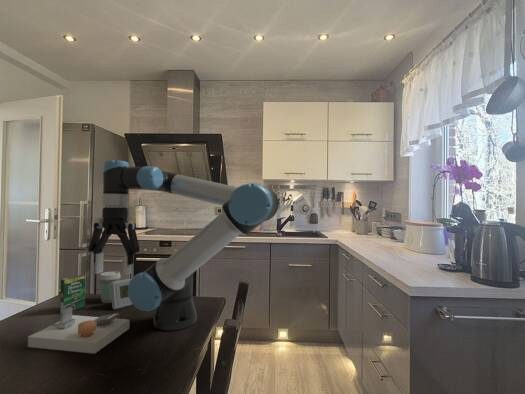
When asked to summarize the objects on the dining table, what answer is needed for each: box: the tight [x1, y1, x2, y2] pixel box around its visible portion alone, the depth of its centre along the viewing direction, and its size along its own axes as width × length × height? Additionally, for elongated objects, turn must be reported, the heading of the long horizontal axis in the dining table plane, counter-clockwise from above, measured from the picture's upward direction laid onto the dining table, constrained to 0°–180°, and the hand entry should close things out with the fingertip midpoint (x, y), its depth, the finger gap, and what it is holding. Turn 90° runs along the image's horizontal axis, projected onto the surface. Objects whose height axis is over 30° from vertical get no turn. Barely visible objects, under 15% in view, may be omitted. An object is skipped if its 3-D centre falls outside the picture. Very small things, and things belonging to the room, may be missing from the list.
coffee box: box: [59, 274, 86, 312], centre depth 109 cm, size 8×3×13 cm, turn 149°
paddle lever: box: [56, 307, 75, 328], centre depth 88 cm, size 3×4×5 cm
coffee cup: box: [98, 271, 122, 304], centre depth 120 cm, size 8×8×12 cm
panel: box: [27, 314, 131, 354], centre depth 87 cm, size 22×16×4 cm
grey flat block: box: [94, 312, 120, 324], centre depth 91 cm, size 6×5×1 cm
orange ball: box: [78, 320, 97, 337], centre depth 83 cm, size 5×5×5 cm
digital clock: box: [111, 277, 134, 310], centre depth 117 cm, size 16×9×11 cm, turn 124°
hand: (113, 273), depth 91 cm, fingers open, 10 cm apart
